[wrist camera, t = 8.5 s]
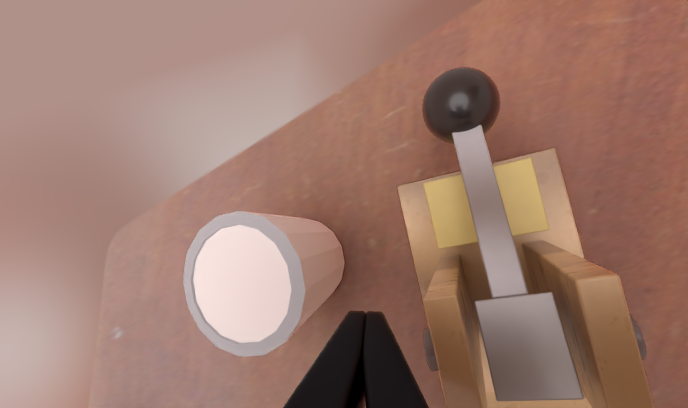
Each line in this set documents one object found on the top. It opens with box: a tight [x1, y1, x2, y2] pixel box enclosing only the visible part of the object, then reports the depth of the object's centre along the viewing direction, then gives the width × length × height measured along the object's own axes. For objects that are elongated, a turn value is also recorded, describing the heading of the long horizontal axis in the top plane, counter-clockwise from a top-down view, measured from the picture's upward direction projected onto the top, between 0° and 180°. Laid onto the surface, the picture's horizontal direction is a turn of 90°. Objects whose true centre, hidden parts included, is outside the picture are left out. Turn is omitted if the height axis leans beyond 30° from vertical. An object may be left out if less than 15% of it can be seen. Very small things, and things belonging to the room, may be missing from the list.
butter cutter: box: [397, 148, 655, 408], centre depth 14 cm, size 13×8×10 cm, turn 13°
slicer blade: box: [422, 67, 584, 401], centre depth 12 cm, size 12×3×3 cm, turn 13°
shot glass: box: [183, 211, 345, 357], centre depth 19 cm, size 7×7×7 cm
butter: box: [423, 158, 549, 249], centre depth 16 cm, size 4×3×4 cm
